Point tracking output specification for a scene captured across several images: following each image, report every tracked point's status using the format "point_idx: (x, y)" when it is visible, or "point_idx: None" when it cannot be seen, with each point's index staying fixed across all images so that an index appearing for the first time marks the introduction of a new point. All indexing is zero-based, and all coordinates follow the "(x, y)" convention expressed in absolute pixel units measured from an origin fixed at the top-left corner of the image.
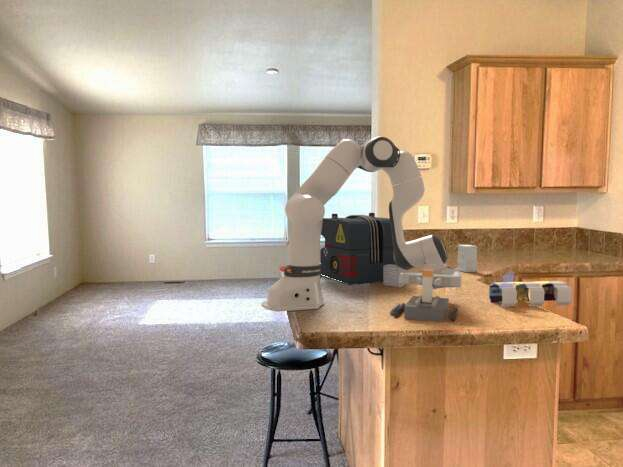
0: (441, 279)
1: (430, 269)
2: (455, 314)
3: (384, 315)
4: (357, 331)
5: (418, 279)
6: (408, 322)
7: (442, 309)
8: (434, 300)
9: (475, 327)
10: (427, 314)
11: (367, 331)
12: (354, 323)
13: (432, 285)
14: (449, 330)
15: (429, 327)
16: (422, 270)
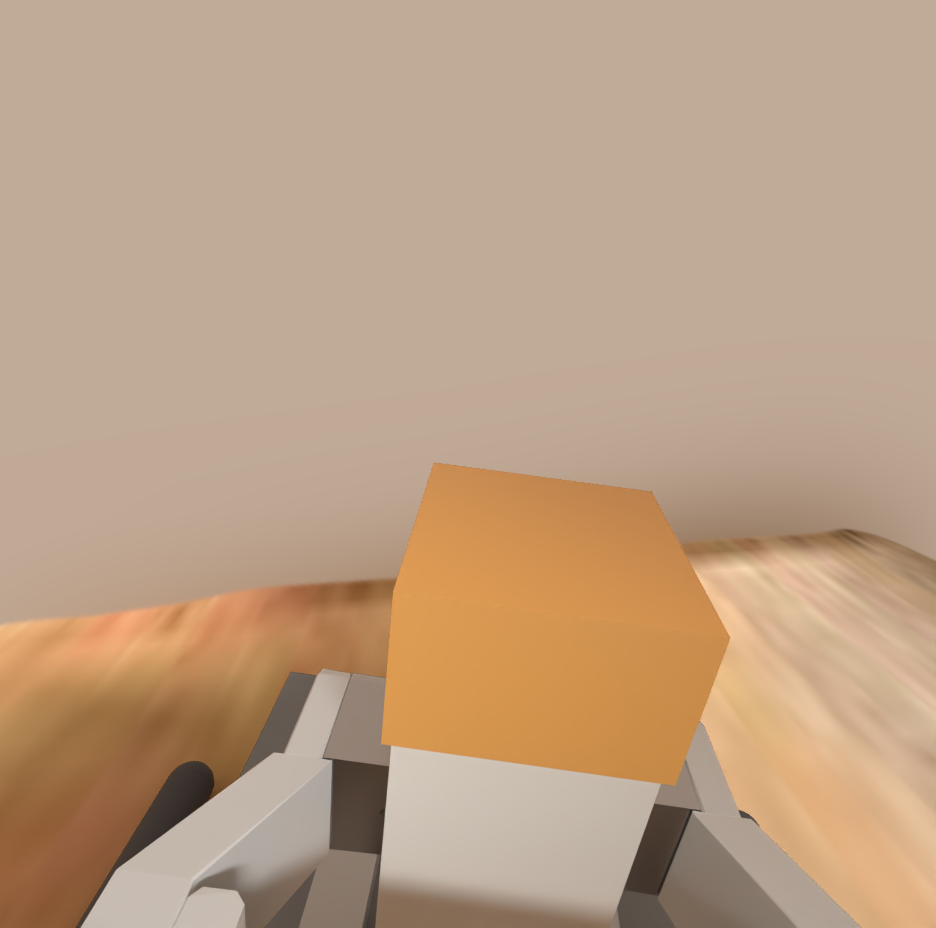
0: (101, 921)
1: (492, 577)
2: (95, 898)
3: (861, 897)
4: (730, 558)
5: (702, 727)
6: None
7: (304, 675)
8: (351, 892)
9: (85, 665)
10: None
11: (693, 560)
12: (846, 649)
13: None
14: (303, 600)
15: None
16: (644, 491)
